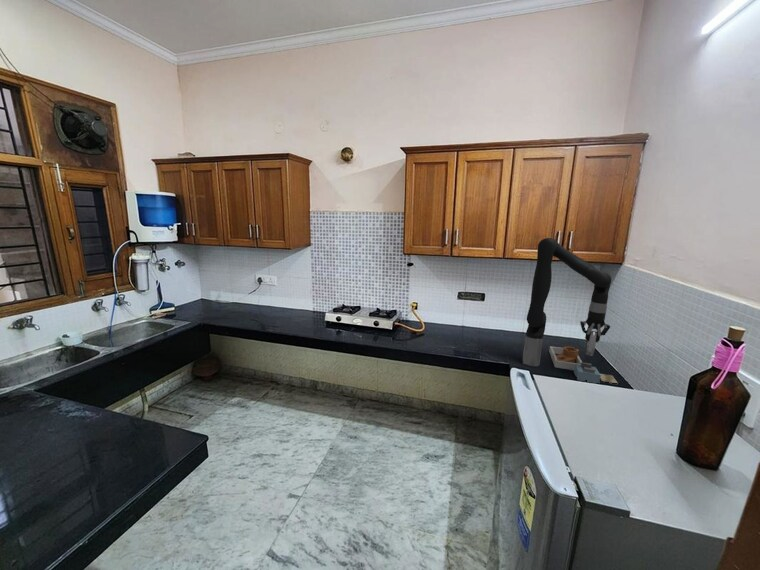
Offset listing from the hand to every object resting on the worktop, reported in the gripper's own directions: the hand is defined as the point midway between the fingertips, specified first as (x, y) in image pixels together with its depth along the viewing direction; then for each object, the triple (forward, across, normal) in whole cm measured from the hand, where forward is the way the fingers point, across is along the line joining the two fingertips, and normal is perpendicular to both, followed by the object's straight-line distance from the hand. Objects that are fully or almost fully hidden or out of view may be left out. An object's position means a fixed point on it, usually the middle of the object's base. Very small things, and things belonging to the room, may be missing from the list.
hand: (591, 341), depth 168 cm
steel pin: (+8, 0, 0) cm, 8 cm away
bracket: (+22, -7, +20) cm, 30 cm away
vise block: (+21, 0, 0) cm, 21 cm away
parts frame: (+22, -7, +20) cm, 30 cm away
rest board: (+21, +11, +2) cm, 24 cm away
